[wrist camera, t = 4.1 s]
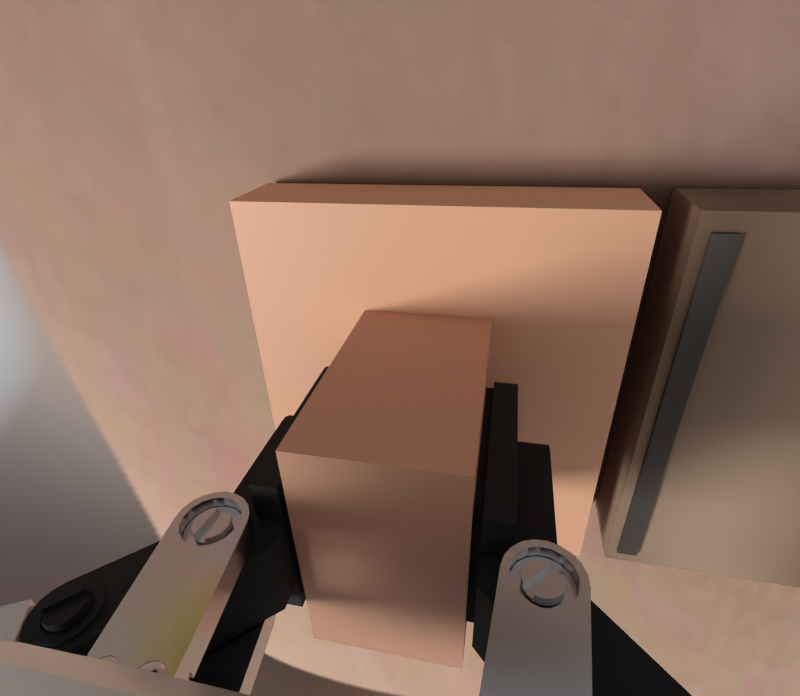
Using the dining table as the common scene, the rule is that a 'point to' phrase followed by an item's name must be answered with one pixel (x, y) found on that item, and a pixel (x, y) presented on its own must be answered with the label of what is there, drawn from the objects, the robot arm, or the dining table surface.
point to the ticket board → (714, 395)
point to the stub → (431, 375)
